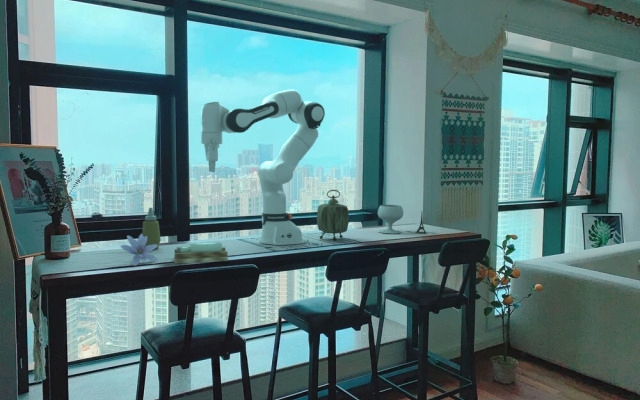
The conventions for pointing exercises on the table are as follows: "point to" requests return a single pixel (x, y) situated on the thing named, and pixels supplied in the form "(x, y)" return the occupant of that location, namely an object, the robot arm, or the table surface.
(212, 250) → the bottle
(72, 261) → the table surface
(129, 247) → the water lily
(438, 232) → the table surface
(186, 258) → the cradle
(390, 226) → the chalice
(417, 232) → the eiffel tower figurine
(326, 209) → the tabletop clock
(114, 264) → the table surface
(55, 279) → the table surface
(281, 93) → the robot arm
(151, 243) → the squeeze bottle
